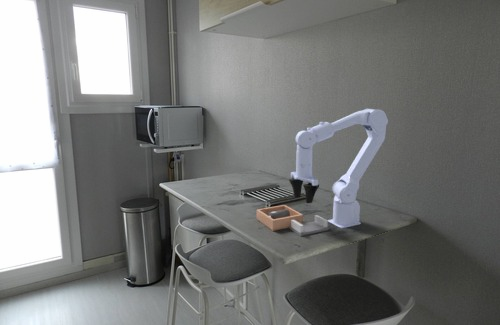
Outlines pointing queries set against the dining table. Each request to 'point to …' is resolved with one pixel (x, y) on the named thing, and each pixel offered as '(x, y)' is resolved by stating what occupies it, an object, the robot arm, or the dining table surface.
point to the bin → (280, 222)
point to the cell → (279, 214)
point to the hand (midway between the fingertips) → (303, 199)
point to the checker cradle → (309, 226)
